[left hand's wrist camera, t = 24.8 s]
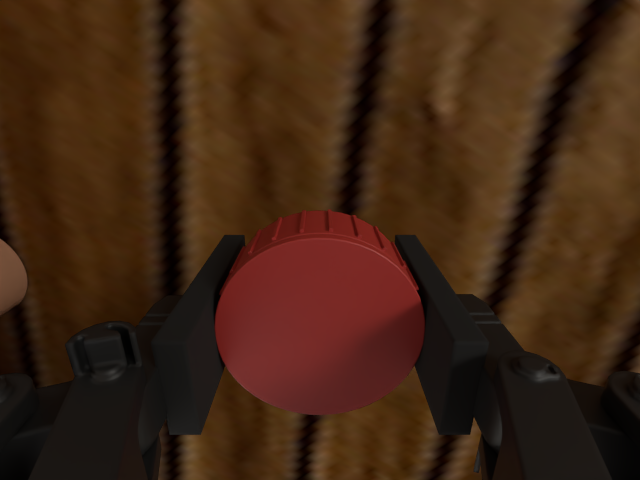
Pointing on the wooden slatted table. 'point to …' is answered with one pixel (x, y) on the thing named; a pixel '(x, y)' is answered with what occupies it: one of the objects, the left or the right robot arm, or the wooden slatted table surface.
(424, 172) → the wooden slatted table surface
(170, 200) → the wooden slatted table surface
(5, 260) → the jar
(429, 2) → the wooden slatted table surface
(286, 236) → the lid
